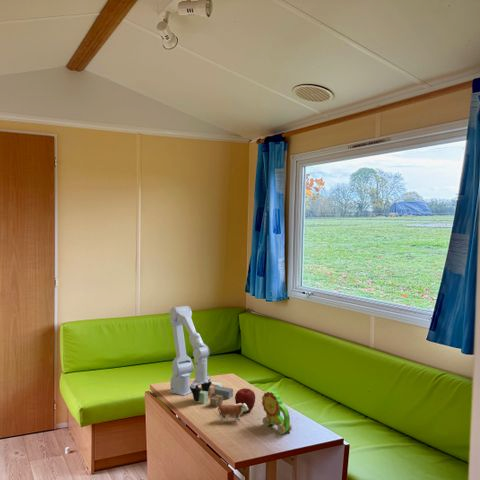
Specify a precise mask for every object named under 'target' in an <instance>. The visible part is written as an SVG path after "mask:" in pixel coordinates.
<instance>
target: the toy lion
mask: <svg viewBox="0 0 480 480" xmlns="http://www.w3.org/2000/svg"><path fill="white" fill-rule="evenodd" d="M261 400H262V401H261V404H262V407H263V411H264V412H265V413H266V415H265V417H263V418H262V424H263V425H264V426H265V427H268V426H270V425H275V426H277V432H278V433H279V434H280V435H283V434H285V433H286V432H287V433H288V432H291V431H292V429H293V427H292V424H291V421H290V420H291V419H290V411H289V410H288V408H287V407H286V406H285V404H283V401H282V399H281V396H280V395H279V394H278V393H277V391H275V390H274V391H273V390H268V391H266V392H264V393H263V395H262V397H261ZM281 413H282V415H281Z"/></svg>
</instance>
